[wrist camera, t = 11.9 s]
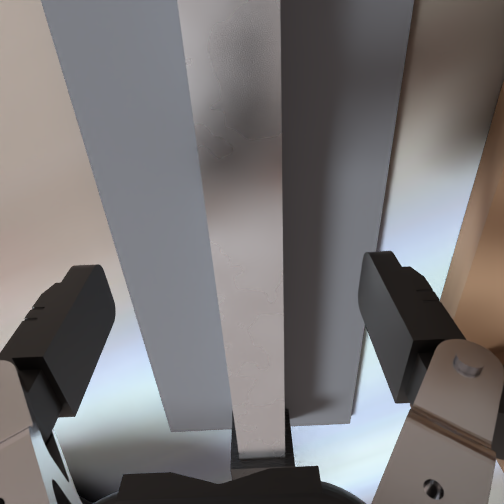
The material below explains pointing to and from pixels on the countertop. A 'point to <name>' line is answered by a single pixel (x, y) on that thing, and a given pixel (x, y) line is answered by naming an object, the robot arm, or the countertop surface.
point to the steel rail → (243, 209)
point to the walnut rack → (482, 251)
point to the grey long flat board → (192, 198)
